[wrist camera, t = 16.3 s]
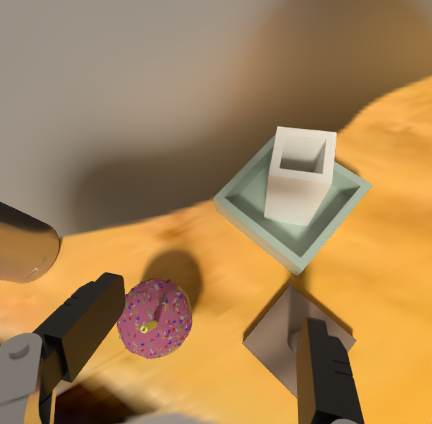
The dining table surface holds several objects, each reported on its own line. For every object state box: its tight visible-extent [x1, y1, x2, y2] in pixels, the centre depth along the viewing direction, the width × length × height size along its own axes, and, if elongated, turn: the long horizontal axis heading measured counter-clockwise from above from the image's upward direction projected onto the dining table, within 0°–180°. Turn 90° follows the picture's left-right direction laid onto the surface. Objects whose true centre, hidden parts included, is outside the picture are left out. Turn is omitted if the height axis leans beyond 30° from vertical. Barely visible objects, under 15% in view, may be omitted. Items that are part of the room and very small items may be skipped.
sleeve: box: [264, 127, 337, 226], centre depth 32 cm, size 6×6×12 cm
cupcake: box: [117, 278, 192, 359], centre depth 29 cm, size 9×8×12 cm
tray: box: [213, 134, 372, 277], centre depth 36 cm, size 14×14×4 cm
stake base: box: [242, 285, 357, 398], centre depth 28 cm, size 9×9×9 cm
